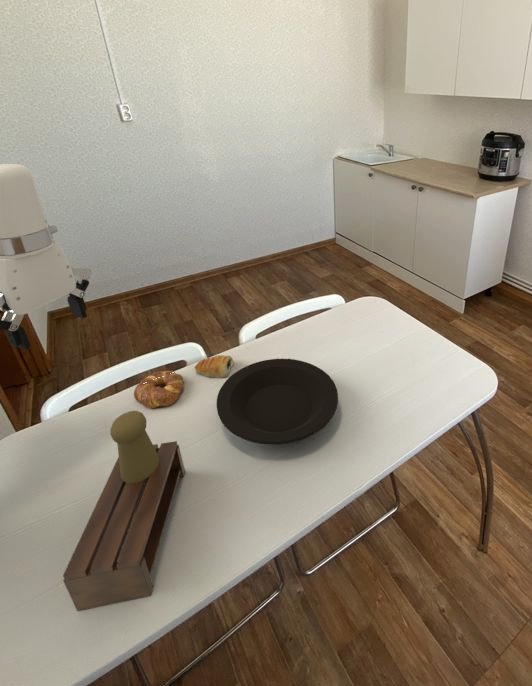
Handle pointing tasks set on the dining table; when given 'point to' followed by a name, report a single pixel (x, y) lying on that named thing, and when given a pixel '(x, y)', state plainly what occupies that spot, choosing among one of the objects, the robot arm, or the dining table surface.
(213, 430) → the dining table surface
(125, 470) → the olive green shaker
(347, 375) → the dining table surface
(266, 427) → the plate
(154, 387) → the ring bread
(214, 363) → the pastry
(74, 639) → the dining table surface
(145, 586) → the rack
